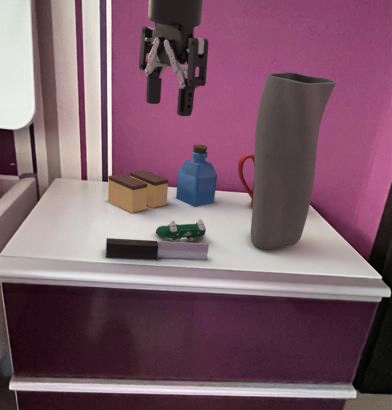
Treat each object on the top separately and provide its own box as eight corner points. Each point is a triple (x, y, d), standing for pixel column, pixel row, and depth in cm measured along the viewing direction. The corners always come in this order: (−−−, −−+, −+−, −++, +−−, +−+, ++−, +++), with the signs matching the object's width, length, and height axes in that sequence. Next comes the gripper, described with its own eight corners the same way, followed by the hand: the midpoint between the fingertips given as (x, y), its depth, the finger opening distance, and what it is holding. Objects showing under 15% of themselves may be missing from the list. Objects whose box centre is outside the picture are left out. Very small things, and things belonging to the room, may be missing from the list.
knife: (106, 257, 98) (106, 241, 96) (106, 251, 100) (106, 235, 98) (207, 262, 101) (209, 246, 99) (206, 256, 103) (207, 241, 101)
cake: (131, 213, 118) (132, 186, 115) (108, 201, 122) (108, 175, 119) (166, 204, 124) (168, 179, 121) (142, 194, 128) (143, 169, 125)
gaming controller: (157, 248, 108) (166, 236, 103) (153, 229, 109) (162, 216, 103) (201, 245, 111) (212, 233, 106) (197, 227, 112) (208, 214, 106)
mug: (279, 201, 134) (289, 143, 127) (291, 215, 127) (303, 154, 119) (228, 199, 131) (236, 140, 124) (237, 213, 124) (246, 151, 117)
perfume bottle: (194, 206, 125) (199, 151, 118) (176, 198, 128) (180, 144, 122) (214, 202, 129) (220, 148, 122) (195, 194, 132) (201, 141, 126)
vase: (265, 259, 104) (297, 83, 88) (227, 235, 112) (250, 70, 96) (314, 251, 110) (352, 84, 94) (275, 228, 118) (304, 72, 102)
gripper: (127, -22, 80) (123, 100, 89) (184, -15, 71) (174, 120, 80) (170, -17, 84) (163, 99, 93) (230, -10, 75) (215, 119, 84)
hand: (168, 109), depth 86 cm, fingers open, 8 cm apart
